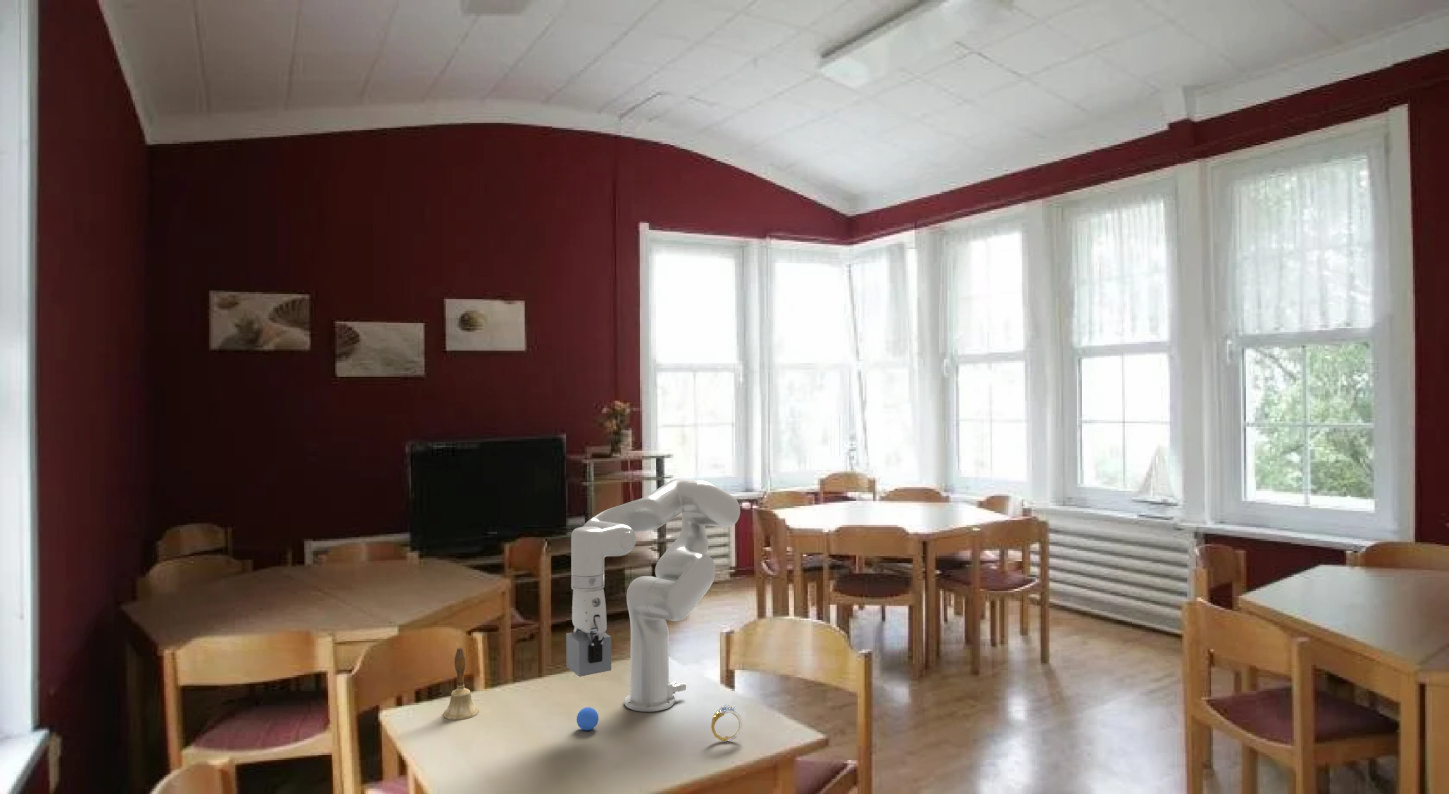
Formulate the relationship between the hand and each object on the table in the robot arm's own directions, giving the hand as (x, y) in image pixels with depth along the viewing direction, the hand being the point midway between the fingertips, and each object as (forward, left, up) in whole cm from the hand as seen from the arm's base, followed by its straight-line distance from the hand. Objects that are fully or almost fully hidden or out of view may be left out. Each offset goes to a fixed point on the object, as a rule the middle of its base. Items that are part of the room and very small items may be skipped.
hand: (587, 656), depth 198 cm
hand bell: (+22, -25, -17) cm, 38 cm away
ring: (-24, +23, -17) cm, 37 cm away
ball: (0, 0, -14) cm, 14 cm away
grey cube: (0, 0, -3) cm, 3 cm away
